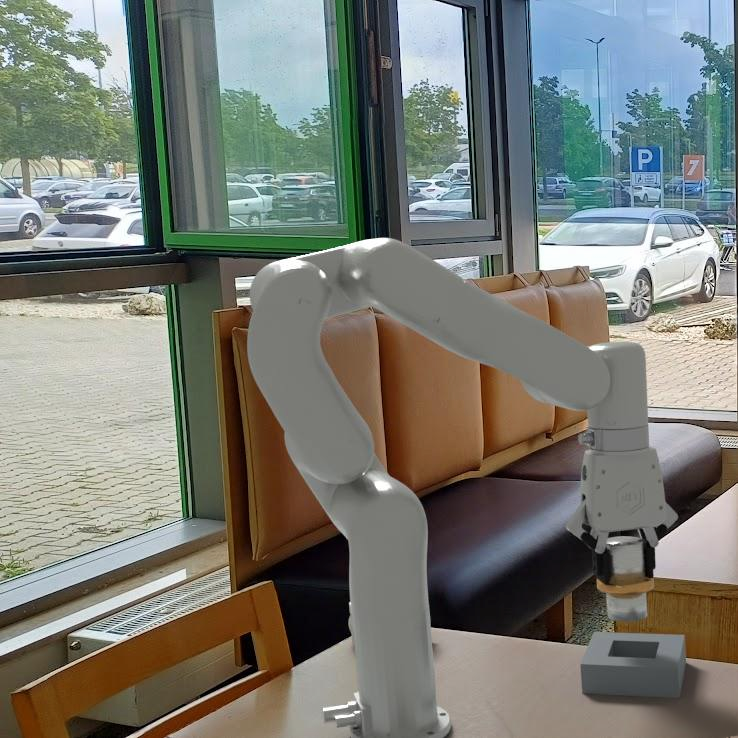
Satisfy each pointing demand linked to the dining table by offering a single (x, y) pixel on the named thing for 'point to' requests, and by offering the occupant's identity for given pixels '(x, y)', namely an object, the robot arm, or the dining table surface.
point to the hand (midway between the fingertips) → (624, 576)
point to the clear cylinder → (626, 579)
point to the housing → (634, 664)
